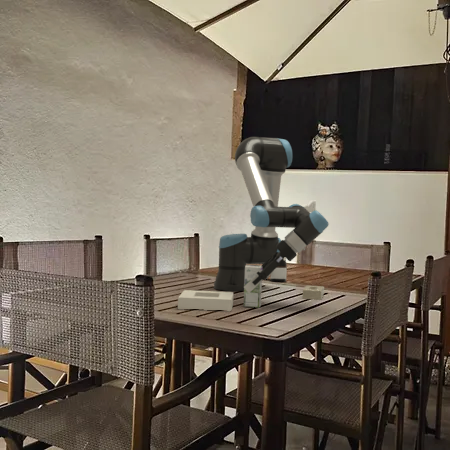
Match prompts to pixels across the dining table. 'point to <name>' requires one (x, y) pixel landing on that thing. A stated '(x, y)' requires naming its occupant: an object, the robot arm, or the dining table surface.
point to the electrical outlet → (313, 292)
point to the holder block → (205, 300)
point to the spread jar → (279, 273)
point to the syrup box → (255, 295)
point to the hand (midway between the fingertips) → (246, 287)
